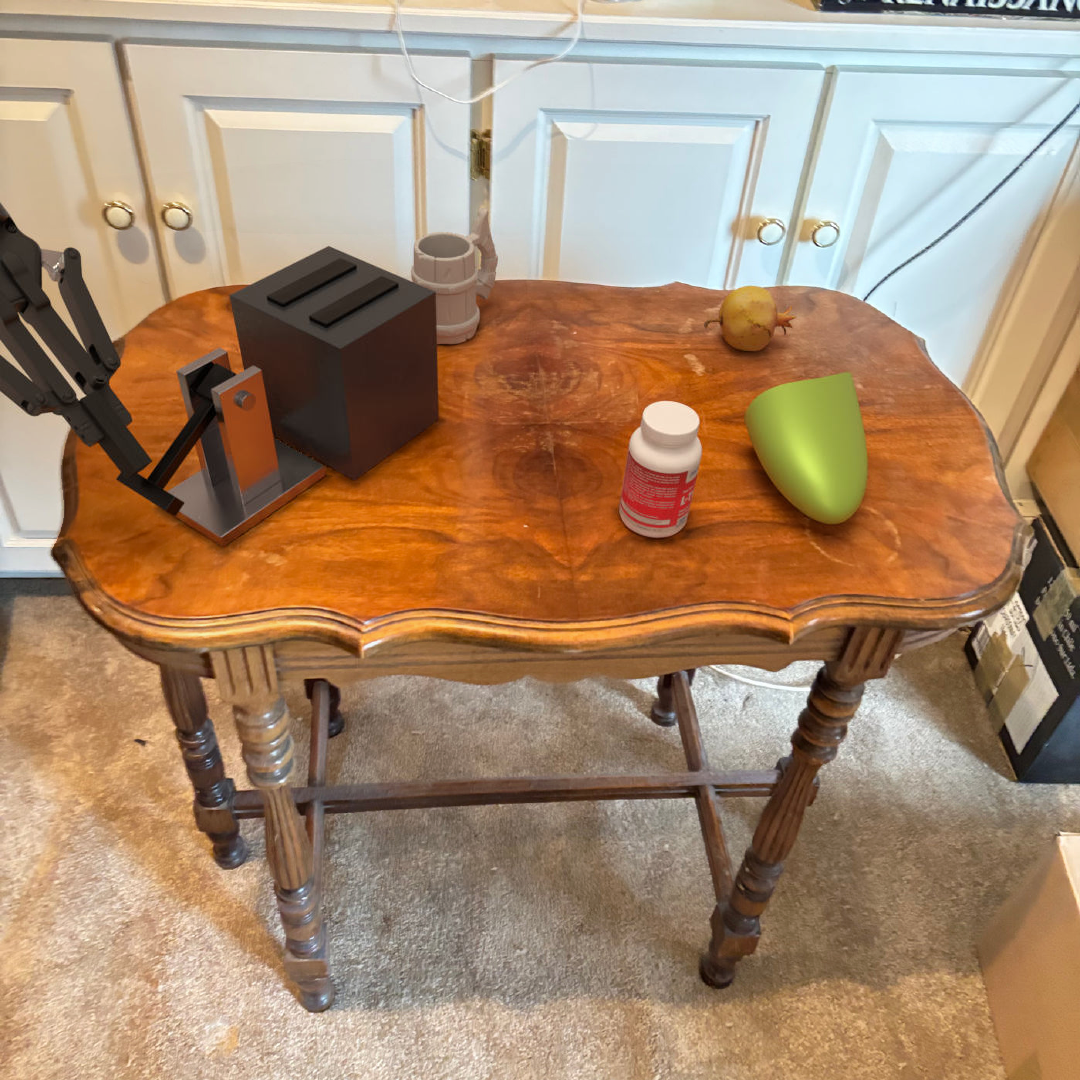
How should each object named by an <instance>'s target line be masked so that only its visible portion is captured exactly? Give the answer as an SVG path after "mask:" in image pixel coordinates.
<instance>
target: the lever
mask: <svg viewBox="0 0 1080 1080" xmlns="http://www.w3.org/2000/svg"><path fill="white" fill-rule="evenodd" d="M237 374H238V373H236V372H235V371H232V369H231V370H229V369H227V368H225V367H223V366H221V365H219V364H217V363H215V364H214V366H213V367H212V369H211V370H210V371H209V373H208V374H207V376H206V377H205V378H204V380H203V381H202V383H201V384H200V385H199V387H198V388H197V390H196V391H197V392H198V393H199V394H200V395H202V396H203V397H204V400H203V401H202V402H201V404H200V405H199V407H198V408H197V409H196V411H195V412H194V414H193V415H192V416H191V418H190V419H188V421H187V422H186V424H185V425H184V426H183V427H182V429H181V431H180V432H179V433H178V434H177V436H176V438H175V439H174V440H173V441H172V443H171V445H170V446H169V447H168V448H167V450H166V451H165V453H164V454H163V455H162V457H161V458H160V460H159V461H158V463H157V464H156V465H155V467H154V468H153V469H152V471H151V472H150V474H149V475H148V477H147V478H146V477H145V476H143V475H142V474H139V473H137V474H135V475H134V476H132V477H130V478H129V479H126V478H125V477H124V476H123V474H122V473H121V472H120V473H119V474H118V475H117V477H116V479H115V481H117V482H119V483H120V484H122V485H123V486H125V487H127V488H129V489H130V490H132V491H133V492H135V493H136V494H138V495H139V496H141V497H142V498H144V499H146V501H149V502H150V503H152V504H153V505H155V506H157V507H158V508H160V509H161V510H163V511H165V512H166V513H168V514H169V515H171V516H173V517H175V516H176V515H177V514H178V512H179V511H180V509H181V508H182V506H183V505H184V502H183V501H181V500H180V499H178V498H177V497H175V496H173V495H172V494H170V493H169V492H167V491H168V490H165V487H166V486H167V485H168V483H169V482H170V481H171V479H172V478H173V476H174V475H175V474H176V472H177V470H178V469H179V468H180V467H181V465H182V464H183V462H184V461H185V460H186V458H187V457H188V455H189V454H190V452H191V451H192V450H193V448H194V447H195V444H196V443H197V441H198V440H199V438H200V437H201V435H202V434H203V433H204V431H205V430H206V428H207V427H208V426H209V424H210V423H211V421H212V420H213V419H214V417H215V416H216V411H215V406H214V402H213V397H212V393H211V389H212V388H214V387H216V386H218V385H219V384H221V383H223V382H225V381H227V380H228V379H230V378H232V377H234V376H235V375H237Z"/></svg>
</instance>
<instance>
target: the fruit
mask: <svg viewBox="0 0 1080 1080" xmlns="http://www.w3.org/2000/svg"><path fill="white" fill-rule="evenodd" d="M793 307H794V306H793V305H790V307H788V308H787V309H785V311H784V312H778V308H777V304H776V301H775V297H774V296H773V294H772V293H771V292H770V291H769V290H767V289H766V288H763V287H761V286H757V285H744V286H739V287H737V288H735V289H734V290H732V291H731V292H729V293H728V294H727V296H726V297H725V298H724V300H723V301H722V303H721V305H720V307H719V311H718V318H709V319H707V320H706V321H705V322H704V323H703V327H704V328H705V329H708V325H709V324H710V323H718V324H719V326H720V330H721V333H722V336H723V338H724V340H725V342H726V343H727V344H728V345H729V346H731V347H732V348H734V349H736V350H739V351H744V352H757V351H761V350H763V349H764V348H765V347H767V346H768V345H769V344H770V342H771V340H772V339H773V337H774V334H775V330H776V328H777V327H781V328H782V329H783V334H784V336H786V335H787V328H790V329H794V327H793V324H792V323H790V321H792V320H794V319H796V318H797V316H794V315H792V314H789V313H790V312H791V311H792V310H793Z"/></svg>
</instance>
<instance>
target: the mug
mask: <svg viewBox="0 0 1080 1080" xmlns="http://www.w3.org/2000/svg"><path fill="white" fill-rule="evenodd" d="M471 230H472V231H471V232H470V234H468V235H463V234H459V233H453V232H449V231H438V232H430V233H428V234H424V235H421V237H420V238H419V237H418V239H416V240H415V242H414V244H413V265H412V266H411V270H410V276H411V281H412V282H414V283H416V284H419V285H421V286H423V287H426V288H428V289H430V290H433V291H435V292H436V324H437V345H457V344H461V343H464V342H466V341H467V340H470V339H472V338H473V337H474V336H475V334H476V333H477V328H478V325H479V323H480V319H481V318H480V317H481V313H480V312H481V311H480V307H479V306H478V305H477V296H478V297H479V298H481V299H483V300H489V297H490V294H491V291H492V288H495V284H496V283H495V282H496V276H497V267H498V263H499V256H498V254H497V253H496V248H495V243H494V241H493V237H492V233H491V227H490V223H489V209H488V208H485V207H479V208H478V210H477V217H476V218H475V220H474V221H473V223H472V228H471ZM475 247H476V248H477V249H478V250H479V253H480V264H479V267H480V268H477V266H476V251H475V250H476V249H475Z"/></svg>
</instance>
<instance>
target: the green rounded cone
mask: <svg viewBox="0 0 1080 1080" xmlns="http://www.w3.org/2000/svg"><path fill="white" fill-rule="evenodd" d="M855 385H856V384H855V381H854V377H853V373H852V372H851V371H847V372H846V371H845V372H840V373H836V374H832V375H827V376H822V377H816V378H810V379H804V380H797V381H792V382H786V383H783V384H780V385H776V386H773V387H771V388H768V389H767V390H764V391H762V393H760V394H759V395H757V396H756V397H755V398H754V399H753V400H752V401H751V403H749V405H748V406H747V408H746V410H745V412H744V416H743V422H744V426H745V429H746V432H747V434H748V436H749V437H748V438H749V440H750V442H751V444H752V447H753V449H754V452H755V454H756V456H757V459H758V461H759V462H760V464H761V467H762V468H763V470H764V471H765V473H766V475H767V476H768V478H769V479H770V481H771V482H772V484H773V486H774V487H776V490H778V491H779V492H780V493H781V495H782V496H783V497H784V498H785V499H786V500H787V501H788V502H789V503H790V504H791V505H792V506H794V507H795V509H797V510H798V511H799V512H801V513H802V514H804V515H805V516H807V517H808V518H810V519H812V520H814V521H816V522H819V523H822V524H827V525H837V524H841V523H844V522H845V521H847V520H849V519H850V518H851V517H852V516H853V515H854V514H855V513H857V510H858V509H859V508H860V505H861V503H862V502H863V499H864V496H865V493H866V489H867V483H868V476H869V475H868V474H869V461H868V459H869V458H868V447H867V440H866V434H865V428H864V421H863V416H862V412H861V407H860V402H859V398H858V394H857V389H856V386H855Z"/></svg>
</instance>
